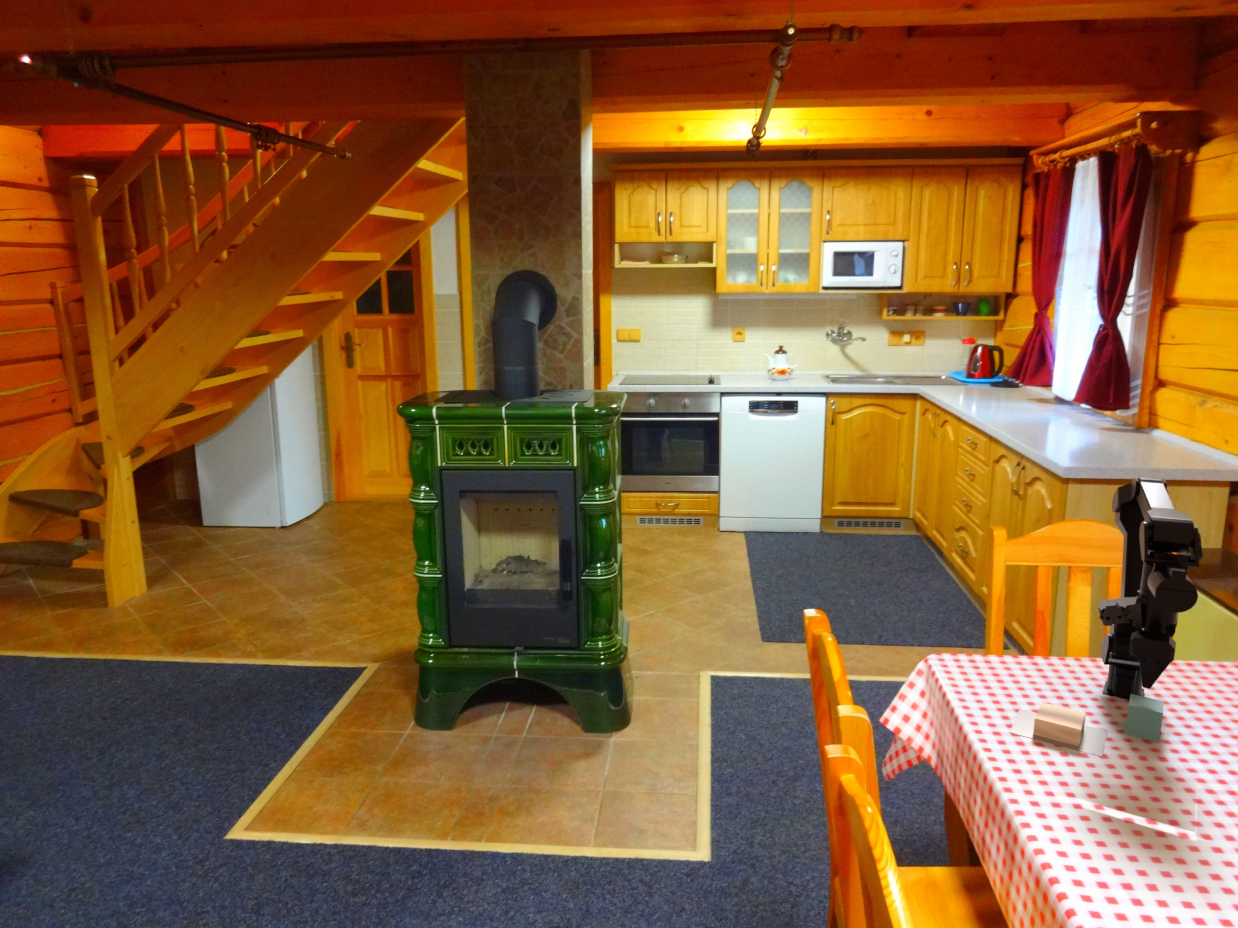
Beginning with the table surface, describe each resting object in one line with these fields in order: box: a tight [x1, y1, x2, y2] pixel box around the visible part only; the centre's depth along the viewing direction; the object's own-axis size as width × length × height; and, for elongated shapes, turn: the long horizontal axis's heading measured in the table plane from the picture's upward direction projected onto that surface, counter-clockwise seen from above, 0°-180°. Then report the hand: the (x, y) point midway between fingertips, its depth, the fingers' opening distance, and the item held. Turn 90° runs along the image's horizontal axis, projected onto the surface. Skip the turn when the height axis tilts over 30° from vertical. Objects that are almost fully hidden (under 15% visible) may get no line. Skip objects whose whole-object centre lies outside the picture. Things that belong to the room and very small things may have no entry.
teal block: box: [1124, 694, 1165, 743], centre depth 149 cm, size 5×5×6 cm
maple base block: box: [1033, 701, 1087, 746], centre depth 150 cm, size 7×7×3 cm
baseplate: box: [1009, 708, 1109, 758], centre depth 150 cm, size 10×14×1 cm
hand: (1147, 676), depth 148 cm, fingers open, 9 cm apart
